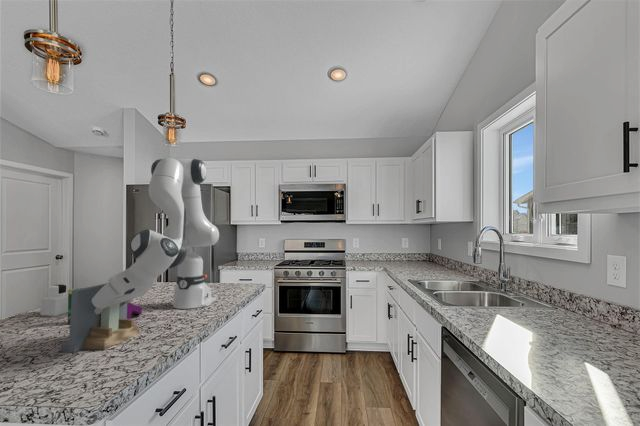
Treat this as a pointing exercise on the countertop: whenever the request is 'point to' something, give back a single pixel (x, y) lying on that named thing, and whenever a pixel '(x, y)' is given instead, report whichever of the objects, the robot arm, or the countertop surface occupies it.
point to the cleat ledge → (110, 335)
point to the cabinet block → (110, 317)
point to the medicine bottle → (55, 301)
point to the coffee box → (70, 304)
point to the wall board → (84, 317)
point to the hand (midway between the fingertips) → (109, 308)
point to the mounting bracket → (132, 310)
